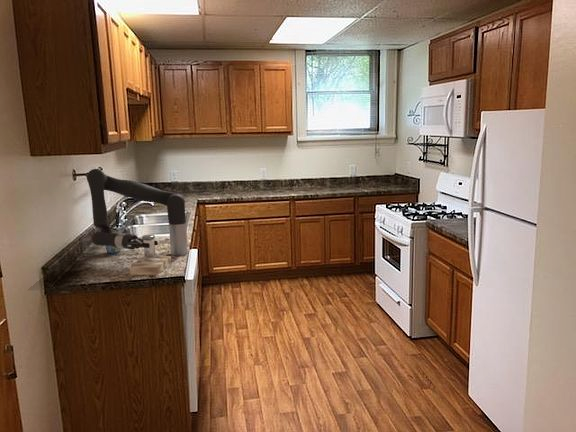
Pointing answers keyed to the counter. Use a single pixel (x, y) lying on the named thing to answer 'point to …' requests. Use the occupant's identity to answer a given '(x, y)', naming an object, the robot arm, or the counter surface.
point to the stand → (150, 265)
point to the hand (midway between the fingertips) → (153, 244)
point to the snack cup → (112, 249)
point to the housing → (150, 239)
